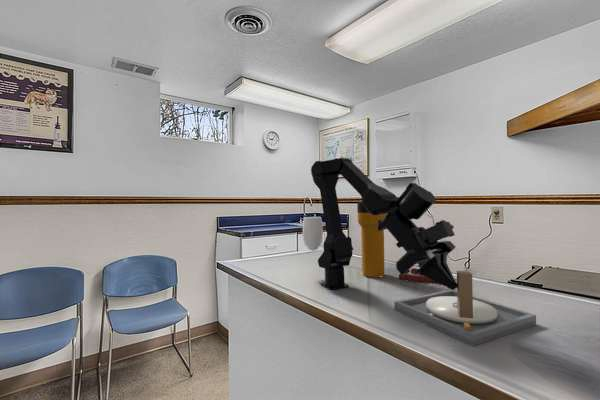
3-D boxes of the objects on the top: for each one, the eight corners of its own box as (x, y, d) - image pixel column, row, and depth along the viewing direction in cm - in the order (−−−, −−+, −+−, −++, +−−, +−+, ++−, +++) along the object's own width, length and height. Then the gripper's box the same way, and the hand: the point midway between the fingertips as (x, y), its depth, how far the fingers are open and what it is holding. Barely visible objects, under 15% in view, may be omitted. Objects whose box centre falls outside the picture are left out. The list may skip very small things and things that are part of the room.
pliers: (464, 293, 84) (464, 284, 84) (397, 280, 98) (397, 273, 98) (475, 284, 92) (475, 276, 92) (412, 274, 106) (412, 267, 106)
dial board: (394, 309, 72) (394, 301, 72) (451, 296, 80) (451, 289, 80) (473, 346, 53) (472, 335, 53) (536, 324, 62) (536, 315, 62)
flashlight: (355, 201, 109) (382, 201, 109) (356, 271, 109) (383, 271, 109) (360, 201, 99) (390, 201, 99) (361, 278, 99) (391, 278, 99)
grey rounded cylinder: (300, 274, 106) (298, 217, 106) (317, 272, 109) (316, 216, 109) (309, 279, 100) (307, 218, 100) (327, 276, 103) (326, 217, 103)
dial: (424, 298, 76) (423, 259, 76) (486, 303, 71) (486, 261, 71) (429, 319, 62) (428, 272, 62) (507, 327, 58) (506, 276, 58)
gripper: (408, 210, 60) (469, 274, 52) (446, 207, 73) (499, 258, 65) (376, 245, 66) (425, 307, 58) (415, 236, 79) (461, 287, 70)
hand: (455, 288), depth 62 cm, fingers closed
